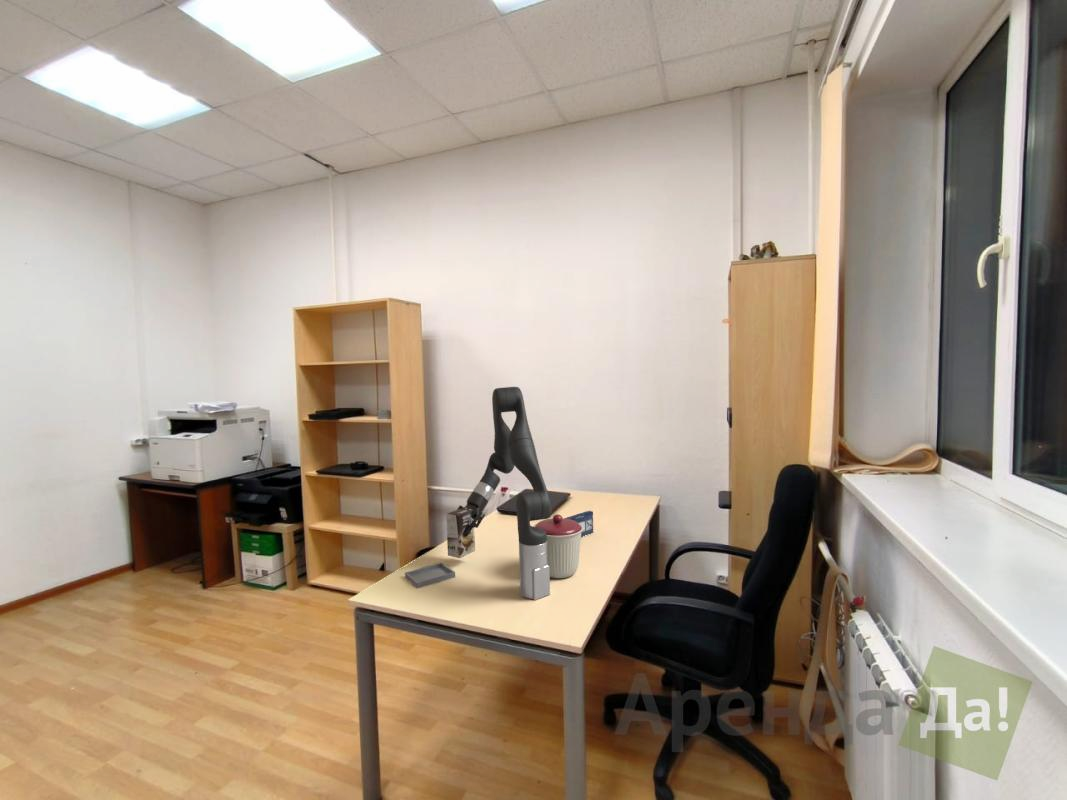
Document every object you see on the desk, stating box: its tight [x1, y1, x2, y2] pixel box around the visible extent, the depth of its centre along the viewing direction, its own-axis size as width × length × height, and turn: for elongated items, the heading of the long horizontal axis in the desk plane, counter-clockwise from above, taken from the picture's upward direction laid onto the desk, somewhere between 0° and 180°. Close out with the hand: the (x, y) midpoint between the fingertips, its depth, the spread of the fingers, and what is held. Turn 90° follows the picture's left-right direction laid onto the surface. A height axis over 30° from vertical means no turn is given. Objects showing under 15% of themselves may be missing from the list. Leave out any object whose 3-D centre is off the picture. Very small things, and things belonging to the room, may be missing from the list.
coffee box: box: [445, 508, 476, 559], centre depth 176 cm, size 9×6×16 cm
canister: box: [533, 514, 583, 579], centre depth 167 cm, size 18×18×21 cm
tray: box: [404, 561, 456, 589], centre depth 166 cm, size 11×14×2 cm
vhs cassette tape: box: [564, 510, 594, 538], centre depth 202 cm, size 18×3×10 cm, turn 129°
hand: (457, 533), depth 175 cm, fingers closed on coffee box, 7 cm apart
